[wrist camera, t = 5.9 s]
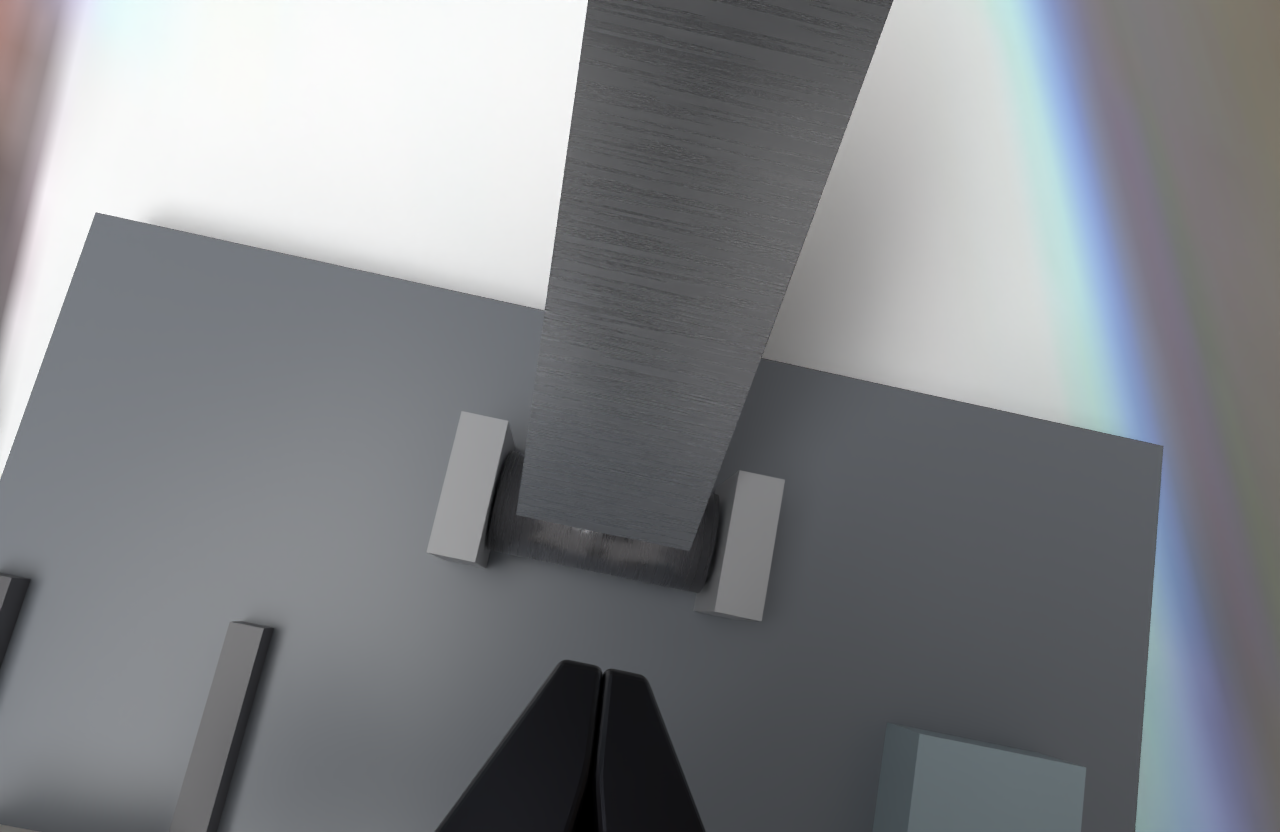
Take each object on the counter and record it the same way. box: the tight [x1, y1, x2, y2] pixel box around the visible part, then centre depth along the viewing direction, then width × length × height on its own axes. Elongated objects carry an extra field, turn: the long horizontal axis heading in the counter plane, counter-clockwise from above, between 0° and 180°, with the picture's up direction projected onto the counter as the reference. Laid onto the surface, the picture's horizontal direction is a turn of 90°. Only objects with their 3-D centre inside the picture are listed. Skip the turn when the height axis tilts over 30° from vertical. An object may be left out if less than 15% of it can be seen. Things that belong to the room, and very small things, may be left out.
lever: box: [488, 0, 893, 593], centre depth 12 cm, size 2×4×16 cm
